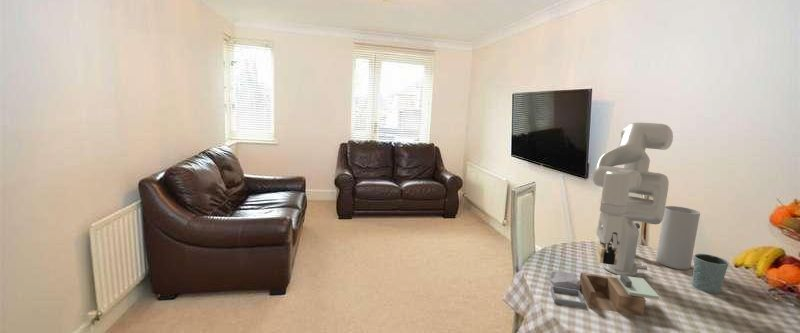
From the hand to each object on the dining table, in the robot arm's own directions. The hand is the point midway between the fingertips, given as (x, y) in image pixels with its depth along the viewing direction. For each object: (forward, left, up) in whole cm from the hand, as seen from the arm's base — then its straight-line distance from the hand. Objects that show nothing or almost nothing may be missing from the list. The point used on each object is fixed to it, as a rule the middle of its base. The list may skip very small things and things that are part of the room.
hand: (605, 259), depth 126 cm
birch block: (0, 0, -1) cm, 1 cm away
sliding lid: (-11, -1, -9) cm, 14 cm away
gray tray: (+11, +3, -15) cm, 19 cm away
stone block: (+10, -10, -16) cm, 21 cm away
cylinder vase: (-42, -50, -16) cm, 67 cm away
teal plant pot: (-44, -27, -16) cm, 53 cm away
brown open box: (-3, -1, -15) cm, 16 cm away
